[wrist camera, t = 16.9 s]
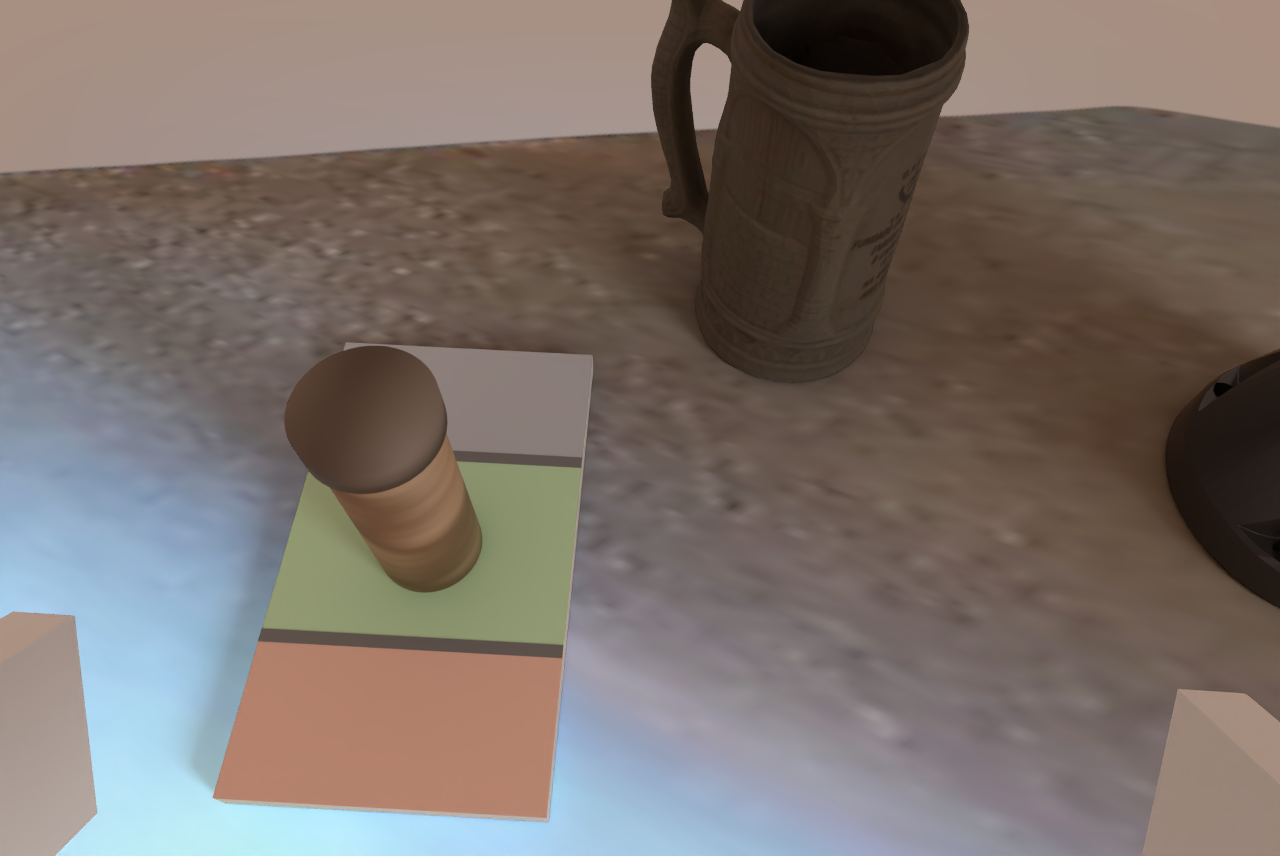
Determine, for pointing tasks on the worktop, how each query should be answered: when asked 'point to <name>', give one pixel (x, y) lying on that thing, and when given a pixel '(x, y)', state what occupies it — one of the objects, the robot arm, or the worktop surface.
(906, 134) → the beer stein
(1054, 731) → the worktop surface
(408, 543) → the wooden dark-capped post
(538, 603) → the gauge board
